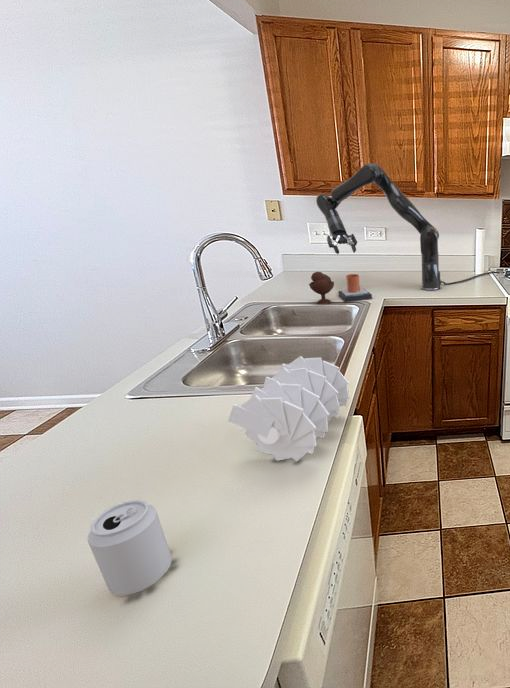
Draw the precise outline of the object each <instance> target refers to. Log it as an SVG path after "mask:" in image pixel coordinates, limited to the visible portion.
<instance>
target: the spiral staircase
mask: <svg viewBox="0 0 510 688" xmlns="http://www.w3.org/2000/svg"><path fill="white" fill-rule="evenodd" d="M339 369H340V367H339V366H337V365H335V364H332V363H330V362H328V361H326V360H322V357H306V358H304V357H303V356H302V355H299V356H298V357H296V358H295V359H294V360H293V361H291V362H290V363H288V364H285V363H282V364H281V367H280V370H279V371H278V372H277V373H275V374H274V375H273V376H272V377H270V376H266V377H265V379H264V383H263V387H262V388H260V387H257V386H255V387H254V389H253V391H252V393H251V395H250V397H249V399H248V400H247V401H245V402H243V403H242V404H240V405H239V404H237V403H234V404H232V408H231V410H230V413H229V416H228V419H227V421H228V422H229V423H232V424H234V425H236V426H238V427H240V428H243V429H245V431H244V432H243V434H244V435H245V436H246V437H247V438H249V439H250V440H252V442H254V443H255V444H257V448H256V451H257V452H261V453H264V454H268V455H272V456H273V457H274V458H275V461H277V462H278V461H282V460H288V459H293V460H294V461H295V462H298V461H299V460H300V459H302V458H303V457H304V456H305V455H306V454H307V453H308V454H313V453H314V451H315V447H317V438H320V439H325V435H326V433H328V432H329V422H330V421H331V419H333V417H334V418H339V411H341V407H342V406H344V407H346V406H347V404H348V400H350V394H349V388H348V385H349V384H350V382H349V381H348V379H347V378H346V377H345V376H344V375H343V374H342V372H341V371H340V370H339Z"/></svg>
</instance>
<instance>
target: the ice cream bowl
mask: <svg viewBox="0 0 510 688" xmlns="http://www.w3.org/2000/svg"><path fill="white" fill-rule="evenodd" d="M310 279H311V282H309V283H308V285H309V288H310V290H312V291H313V292H314V293H316V294H318V295H320V297H321V299H319V300H318V301H317V304H319V305H327V304H329V303H331V300H329V299H328V298H326V294H329V293H330V292H331V291H332V290H333V288H334V286H335V282H334V281H332V279H331V277H330V276H329V275H328V274H325V273H323V272H322V271H315V272H313V273H312V274H311V276H310Z"/></svg>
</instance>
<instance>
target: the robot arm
mask: <svg viewBox="0 0 510 688" xmlns="http://www.w3.org/2000/svg"><path fill="white" fill-rule="evenodd" d="M370 184H375V185H376V186H377V187H378V188H379V189H380V190H381V191H382V192H383V194H384V195H385V198H386V200H387V202H388V204H389V205H390V207H391V208H392V209H393V211H395V212H396V213H397V215H398V216H400V217H401V218H402V219H403V220H405V222H407V223H408V224H410V225H411V226H412V227H413V228H414V229H415V230H416V231H417V233H418V234H420V235H419V241H420V243H419V244H420V255H421V256H420V257H421V289H422V290H425V291H436V290H440V289H441V285H442V284H443V285H445V286H449V285H450V286H451V285H455V284H459V283H463V282H467V281H469V280H473V279H475V278H478V277H481V276H486V275H491V274H494V273H495V272H494V271H495V270H492V271H488V272H484V273H480V274H477V275H474V276H471V277H469V278H466V279H461V280H458V281H453V282H445V281H444V280H442V279H441V271H440V263H439V262H440V261H439V260H440V259H439V258H440V256H439V255H440V254H439V245H438V244H439V239H440V233H439V231H438V229H437V228H436V227H435V226H433V224H431V223H430V222H429V221H428V220H427V219H426V218H425V217H424V216H423V215H422V214H421V212H420V211H419V210H418V208H417V207H416V206H415V205H414V203H413V202H412V201H411V200H410V199H409V198H408V197H407V196H406V195H405V194H404V193H403V192H402V190H401V189H400V188H399V187H398V186H397V185H396V184H395V183H394V182H393V181H392V180H391V178H390V177H389V176H388V175H387V173H386V172H385V171H384V169H383V168H382V166H380V165H379V164H378V163H376V162H369V163H364V164H363V165H362V167H360V168H359V170H358V171H357V172H356V173H355V174H353V175H352V176H351V177H349V178H348V179H347V180H345V181H343V182H342V183H340V184H339V185H337V186H336V187H334V188H333V189H332V190H331V191H330V196H329V195H327V194H325V193H319V194H318V195H317V196H316V200H315V202H316V206H317V208H318V209H319V210H320V213H322V215H323V216H324V218H325V221H326V223H327V228H328V229H329V232H330V234H329V235H327V236H326V241H327V244H328V248H329V249H331V248H332V249H333V250H334V253H335V254H336V255H339V254H340V250H339V247H338V245H345V244H346V245H347V246H349V247H351V251H352V252H353V254H354V253H356V251H357V245H358V241H357V240H358V239H356V236H355V235H354V233H351V234H350V235H349V234H348V233H347V230H346V228H345V225H344V223H343V221H342V219H341V217H340V214H339V212H338V211H337V209H338V207H339V205H340V204H341V203H342V202H343V201H344V200H346V199H348V198H349V197H351V196H352V195H353V194H354V193H356V192H357V191H358V190H360V188H362V187H364V186H368V185H370ZM330 235H331V236H330ZM333 241H334V243H333ZM496 273H497V274H500V271H498V272H496Z"/></svg>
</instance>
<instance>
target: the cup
mask: <svg viewBox="0 0 510 688" xmlns="http://www.w3.org/2000/svg"><path fill="white" fill-rule="evenodd" d="M345 278H346V289H347V290H348V292H351V293H355V292H359V291H360V288H361V284H360V283H361V282H360V275H359V274H356V273H350V274H349V273H348V274H346V276H345Z"/></svg>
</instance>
